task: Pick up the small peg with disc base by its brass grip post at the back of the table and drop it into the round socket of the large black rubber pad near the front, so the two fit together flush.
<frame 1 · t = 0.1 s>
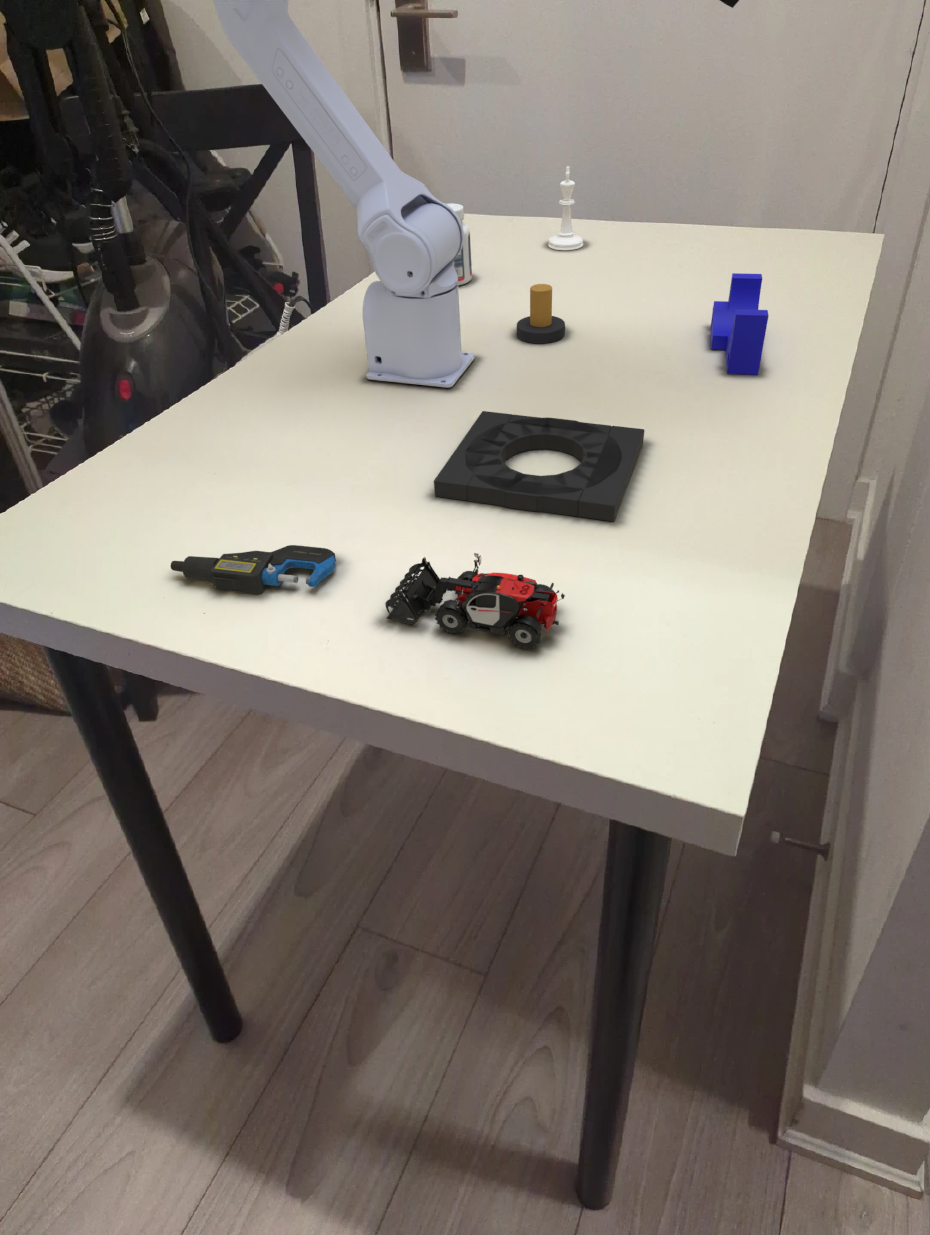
socket pad: (542, 469, 75), on the table
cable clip: (732, 352, 92), on the table
peg with disc base: (540, 334, 98), on the table
micrometer: (256, 576, 65), on the table
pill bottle: (451, 282, 113), on the table
chess piece: (565, 246, 122), on the table
loader: (479, 621, 60), on the table
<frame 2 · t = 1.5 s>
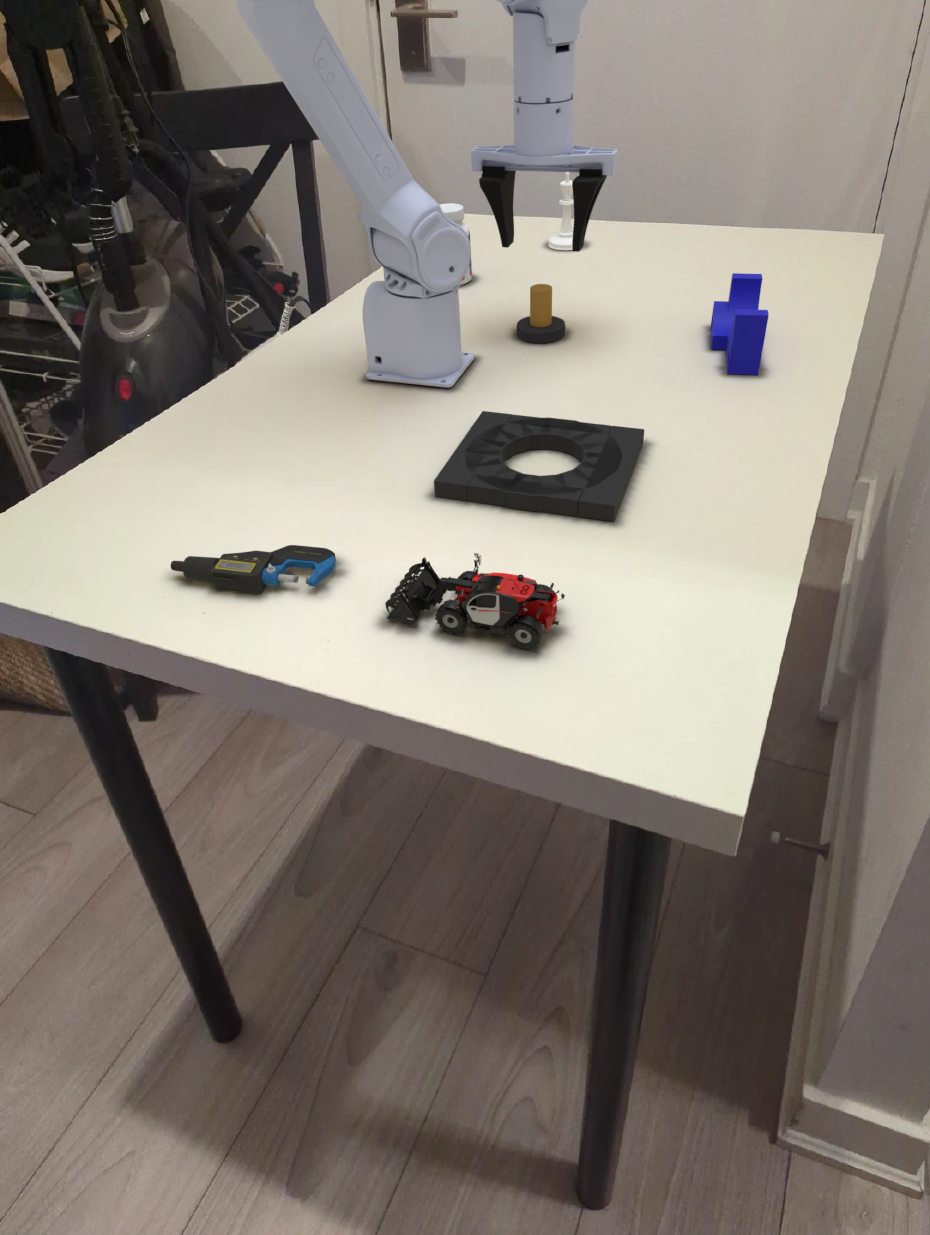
hand: (542, 246, 92), 9 cm above the table, tool pointing down, fingers open, 7 cm apart
nothing on the table moved.
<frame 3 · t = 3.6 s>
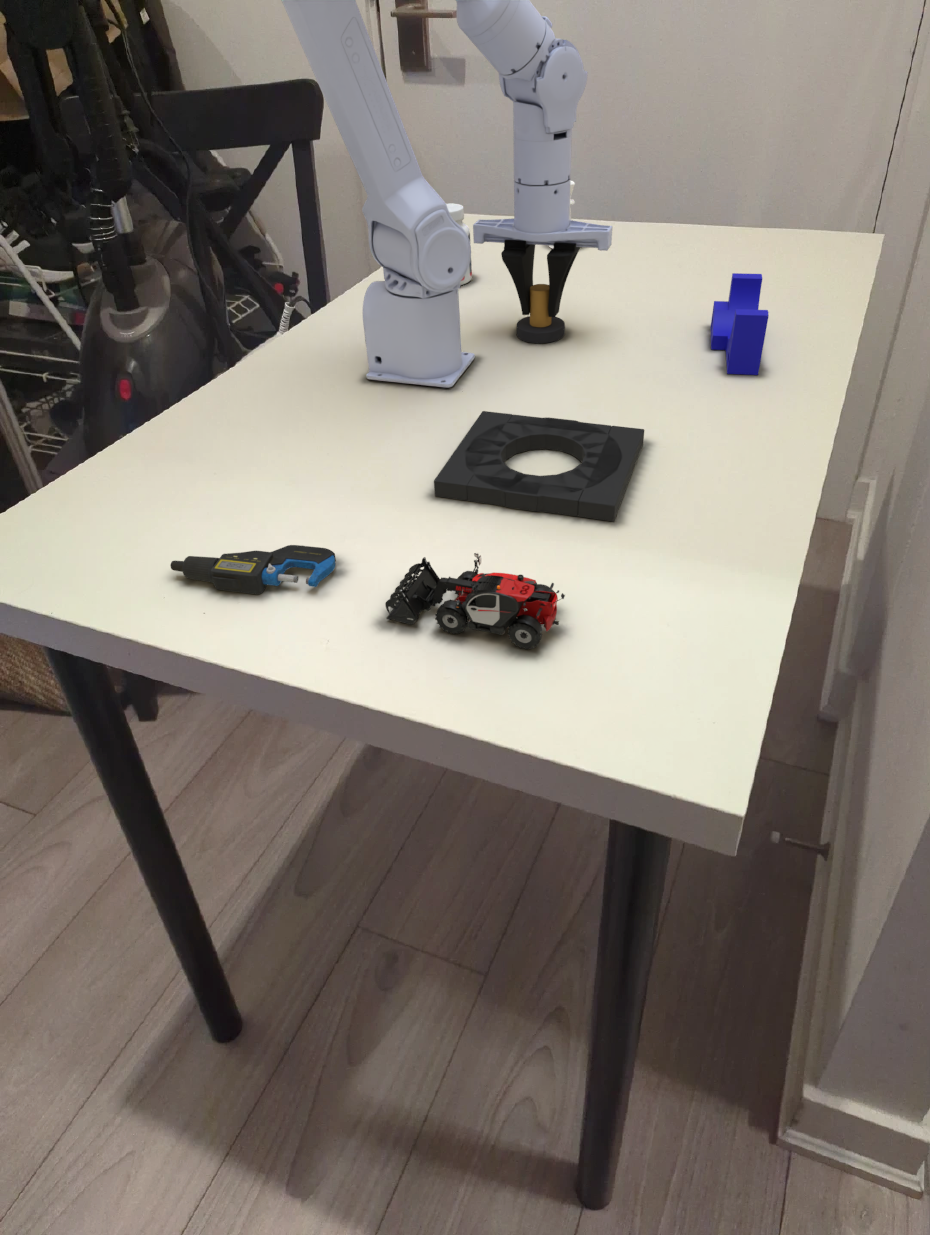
hand: (540, 312, 96), 2 cm above the table, tool pointing down, fingers closed on peg with disc base, 2 cm apart
peg with disc base: (540, 334, 98), on the table, touching gripper
everything else where it was.
when the fingers open (2 cm above the table, at t = 8.6 s): peg with disc base stays where it is, resting in socket pad.
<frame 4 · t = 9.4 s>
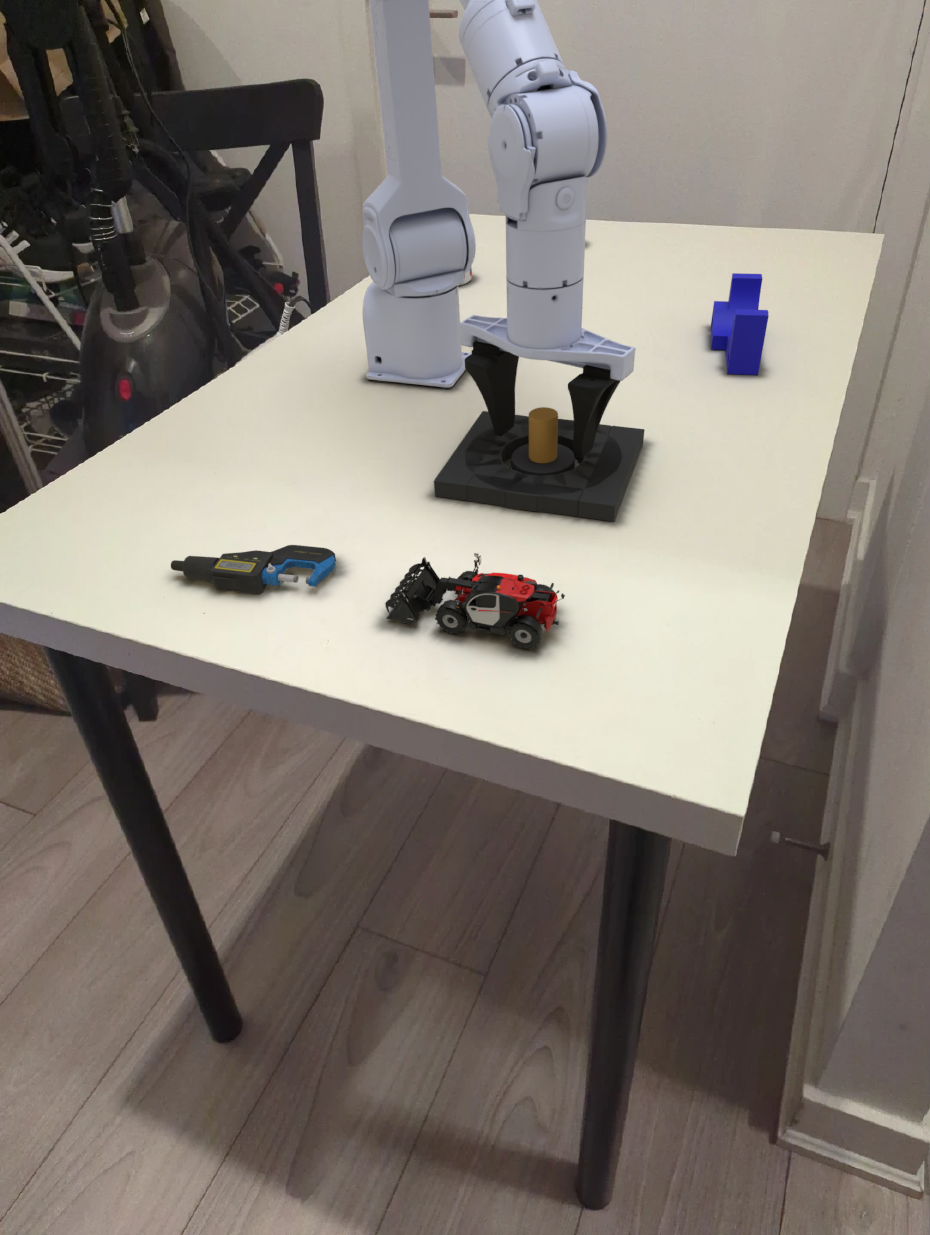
hand: (542, 441, 73), 3 cm above the table, tool pointing down, fingers open, 7 cm apart
peg with disc base: (542, 469, 75), resting in socket pad
everything else where it was.
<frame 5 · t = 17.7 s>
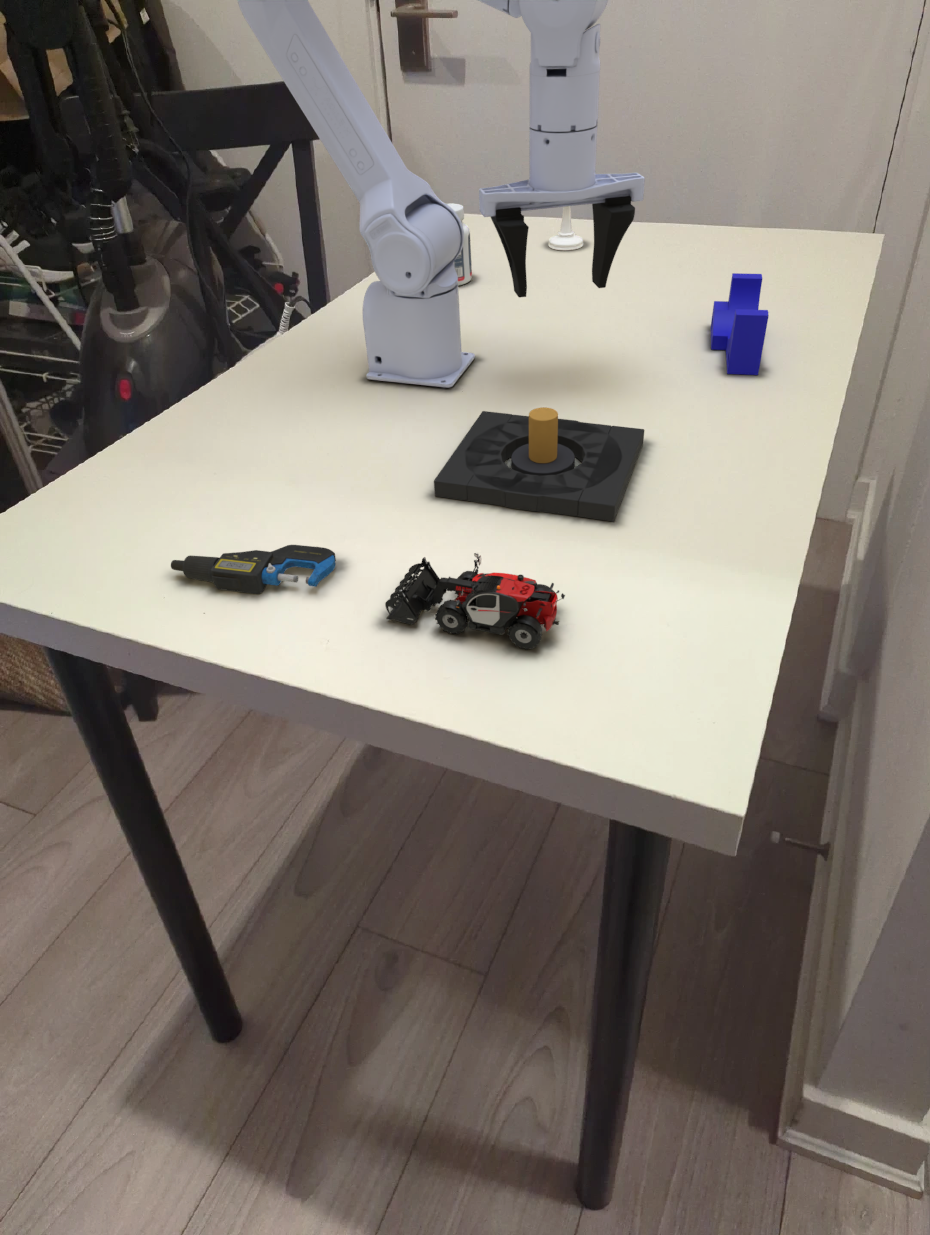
hand: (559, 289, 82), 9 cm above the table, tool pointing down, fingers open, 7 cm apart
nothing on the table moved.
at the end: peg with disc base 0.0 cm off-centre in the socket pad, point 0.0 cm above the socket pad's base; peg with disc base tilted 0°; the gripper is holding nothing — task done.
